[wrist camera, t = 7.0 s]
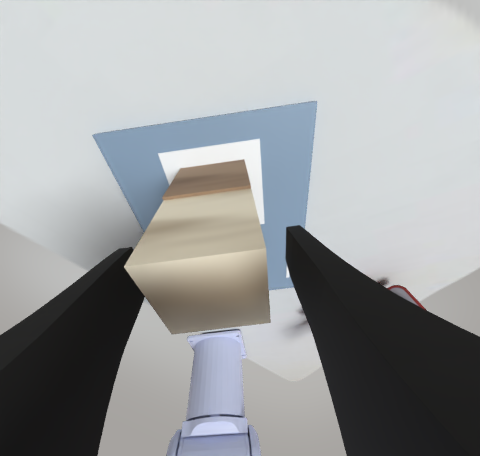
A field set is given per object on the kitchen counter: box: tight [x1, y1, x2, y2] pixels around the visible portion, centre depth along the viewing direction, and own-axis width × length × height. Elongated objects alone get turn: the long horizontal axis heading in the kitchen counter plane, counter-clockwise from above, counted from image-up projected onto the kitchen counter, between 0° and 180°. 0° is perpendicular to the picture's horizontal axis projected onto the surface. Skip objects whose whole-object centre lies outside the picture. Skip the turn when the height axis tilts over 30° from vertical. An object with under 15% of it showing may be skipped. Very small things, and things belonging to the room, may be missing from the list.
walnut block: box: [162, 159, 251, 201], centre depth 13 cm, size 4×4×4 cm
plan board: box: [92, 101, 317, 290], centre depth 17 cm, size 18×14×1 cm
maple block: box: [124, 188, 271, 334], centre depth 9 cm, size 4×4×4 cm
